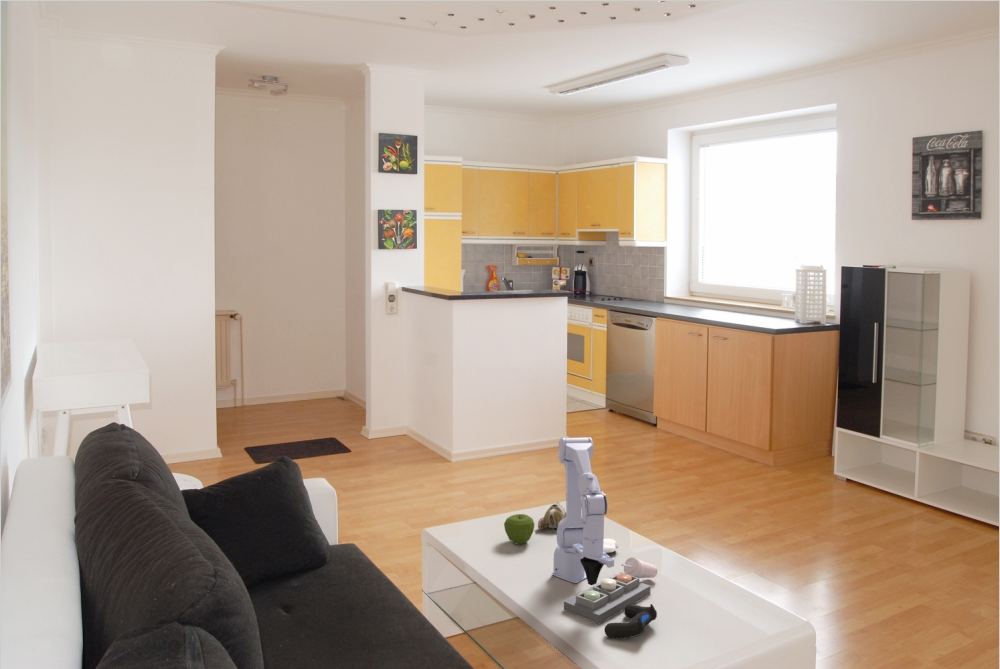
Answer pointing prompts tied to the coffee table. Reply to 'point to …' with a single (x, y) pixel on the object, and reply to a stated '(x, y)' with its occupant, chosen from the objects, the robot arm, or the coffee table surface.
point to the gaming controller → (632, 622)
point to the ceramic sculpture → (552, 516)
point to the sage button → (592, 595)
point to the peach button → (624, 578)
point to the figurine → (609, 545)
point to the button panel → (607, 600)
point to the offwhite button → (608, 584)
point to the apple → (519, 528)
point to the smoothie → (639, 568)
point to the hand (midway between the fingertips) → (592, 583)
